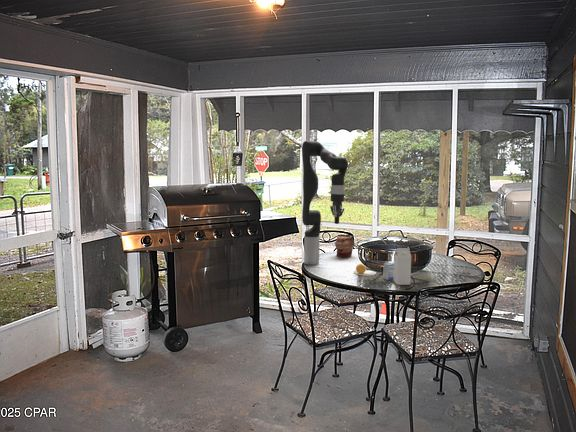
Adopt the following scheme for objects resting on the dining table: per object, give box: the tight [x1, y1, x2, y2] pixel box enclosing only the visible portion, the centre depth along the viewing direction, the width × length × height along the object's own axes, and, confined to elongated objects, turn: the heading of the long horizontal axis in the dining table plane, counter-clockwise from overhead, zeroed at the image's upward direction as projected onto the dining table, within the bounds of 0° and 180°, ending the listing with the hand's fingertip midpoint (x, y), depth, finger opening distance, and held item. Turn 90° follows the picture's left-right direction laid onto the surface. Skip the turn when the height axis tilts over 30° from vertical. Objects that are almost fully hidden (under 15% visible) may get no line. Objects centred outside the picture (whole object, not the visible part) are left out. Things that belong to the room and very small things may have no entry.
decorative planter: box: [334, 234, 355, 258], centre depth 334 cm, size 20×12×14 cm, turn 159°
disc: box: [353, 269, 377, 277], centre depth 289 cm, size 13×13×1 cm
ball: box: [355, 263, 367, 274], centre depth 287 cm, size 6×6×6 cm
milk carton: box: [392, 247, 412, 286], centre depth 266 cm, size 7×7×19 cm
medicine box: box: [382, 262, 394, 281], centre depth 276 cm, size 8×4×9 cm, turn 117°
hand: (336, 223), depth 282 cm, fingers closed
